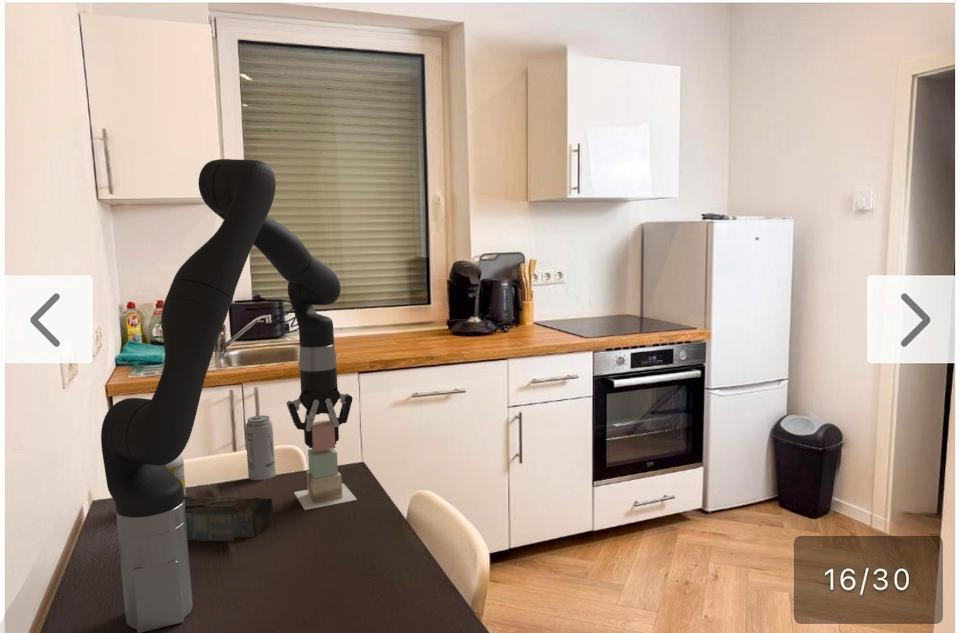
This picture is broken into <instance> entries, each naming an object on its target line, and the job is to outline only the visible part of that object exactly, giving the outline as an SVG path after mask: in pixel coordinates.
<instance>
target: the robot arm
mask: <svg viewBox="0 0 960 633" xmlns="http://www.w3.org/2000/svg"><path fill="white" fill-rule="evenodd" d="M276 187H277V186H276V178H275V173H274V171H273V169H272V167H271V166H270V165H269V164H267V163H266V162H264V161H261V160H255V159H248V158H247V159H234V158H233V159H232V158H221V159H220V158H219V159H213V160H210V161H208V162H206V163H205V164H204V166H203V167H202V168H201V170H200V173H199V177H198V191H199V193H200V196H201V199H202V200H203V202H204V203H205V205H206V206H207V207H208V208H209V209H210V210H211V211H212V212H214V213H215V214H216V215H217V216H219V218H221V219H222V220H223V221H222V223H221V225H220V226H219V227H218V229H217V231H216V232H215V233H214V234H213V235H212V236H211V237H210V238H209V240H207V241H206V242H205V243H204V244H202V245H201V247H199V248H198V249H197V250H196V251H194V253H193V254H192V255H190V256H189V257H188V259H186V261H185V262H184V263H182V264H181V266H180V267H179V269H178V271H177V272H176V274H175V275H174V277H173V280H172V282H171V284H170V287H169V289H168V292H167V295H166V297H165V300H164V302H163V306H162V310H161V314H160V315H161V316H160V317H161V318H160V319H161V320H160V321H161V322H160V323H161V324H160V325H161V332H162V342H163V347H164V363H163V368H162V373H161V375H160V378H159V381H158V383H157V385H156V389H155V391H154V393H153V395H152V397H151V399H150V398H144V397H142V398H141V397H129V398H124V399H121V400H119V401H117V402H116V403H115V404H113V405H112V406H110V408H109V409H108V411H107V412H106V414H105V415H104V418H103V421H102V424H101V425H102V426H101V431H100V441H101V442H100V445H101V446H100V447H101V454H102V459H103V460H102V461H103V467H104V473H105V480H106V485H107V490H108V493H109V495H110V496H111V498H112V499H113V501H114V505H115V514H116V524H117V536H118V538H117V539H118V546H119V547H118V548H119V549H118V550H119V558H120V569H121V580H122V590H123V592H122V593H123V601H124V613H125V621H126V622H125V623H126V625H127V626H129V627H130V628H132V629H135V630H136V633H144V632H150V631H153V630H157V629H160V628H161V629H162V628H166V627H169V626H173V625H177V624H181V623H184V620H185V618H186V617H187V616H188V615H189V614H190V613H191V611H192V610H193V595H192V594H193V592H192V580H191V569H190V557H189V554H190V553H189V545H188V544H189V540H187V528H186V514H185V501H184V489H183V484H182V482H181V481H180V480H179V479H178V478H177V477H176V476H174V475H173V474H172V473H171V472H170V471H169V470H168V469H167V467H166V466H165V465H166V464H169V463H171V462H172V461H174V460H175V459H176V458H178V456H179V455H181V454H182V453H183V451H184V450H185V449H186V446H187V445H188V442H189V440H190V437H191V435H192V432H193V427H194V425H195V420H196V418H197V417H196V416H197V412H198V409H199V404H200V400H201V395H202V391H203V387H204V383H205V380H206V376H207V373H208V369H209V366H210V363H211V360H212V358H213V355H214V351H215V348H216V345H217V343H218V339H219V336H220V334H221V332H222V329H223V326H224V324H225V321H226V318H227V316H228V313H229V311H230V307H231V305H232V302H233V298H234V295H235V293H236V290H237V289H236V288H237V287H238V283H239V281H240V278H241V276H242V273H243V271H244V267H245V265H246V262H247V259H248V257H249V255H250V254H251V249H252V247H253V246H254V247H255V248H256V249H258V250H259V251H260V252H261V253H262V254H263V255H264V256H265V258H267V260H268V261H269V263H270V264H271V265H272V266H273V267H274V269H276V271H277V272H278V273H279V274H280V275H281V277H282V278H283V279H285V280H286V281H287V282H288V283H287V295H288V298H289V301H290V302H289V303H290V304H291V307H292V311H293V313H294V317H295V318H296V322H297V325H298V326H297V327H298V336H299V338H298V339H299V355H298V358H299V361H298V367H299V376H300V377H299V379H300V394H299V396H298V398H297V399H295V400H288V401H287V402H286V407H287V410H288V412H289V414H290V416H291V417H290V418H291V419H292V422H293V424H294V426H295V427H296V429H298V430H302V431H303V437H304V440H303V441H304V444H305V445H306V446H307V447H308V448H309V449H312V448H313V444H312V431H311V429H312V425H313V422H315V419H316V418H315V417H316V416H318V415H321V414H324V415H327V416H328V420H330V421H331V422H332V423H333V424H334V430H335V445H337V442H338V441H339V439H340V434H339V427H340V426H341V425H342V424H346V423H347V422H348V419H349V414H350V410H351V408H352V403H353V398H354V397H353V396H352V395H350V394H349V393H346V394H345V393H340V391H339V388H338V373H337V372H338V371H337V370H338V369H337V368H338V367H337V355H336V354H337V353H336V349H335V348H336V347H335V334H334V323H333V319H332V318H330V317H328V316H326V315H323V314H319V313H317V312H316V310H315V309H314V306H328V305H332V304H334V303H335V302H337V300H338V299H339V298H340V294H341V282H340V279H339V278H338V276H337V274H336V273H335V272H334V271H333V270H332V269H331V268H330V267H328V265H326V264H325V263H323V262H322V261H320V259H318V258H316V257H315V256H313V255H312V254H311V253H310V251H309V250H308V248H307V247H306V246H305V244H304V243H303V241H302V240H300V238H299V237H298V236H297V235H296V234H295V233H294V232H293V231H291V230H290V229H288V227H286V226H284V225H283V224H282V223H280V222H278V221H277V220H275V219H273V218H271V216H269V213H270V210H271V208H272V205H273V204H274V203H273V202H274V198H275V193H276ZM338 401H339V402H340V403H341V407H340V412H339V415H338V417H337V413H336V410H335V407H336V404H337V403H338ZM300 405H302V406H303V408H305V409H306V411H305V414H304V415H305V416H304V422H302V421H301V418H300V415H299V413H298V411H299V410H300Z"/></svg>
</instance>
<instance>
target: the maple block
mask: <svg viewBox="0 0 960 633" xmlns="http://www.w3.org/2000/svg"><path fill="white" fill-rule="evenodd" d="M342 481H343V480H342V474H341V473H340V472H339V471H338V475H335V476H329V477H324V478H318V479H314V478H313V477H312V475H311V474H310V472H309V470H308V471H306V484H307V485H306V486H307V490H308V495H309V496H310V498H311V499H312V501H313V502H314V503H318V502H323V501H328V500H334V499H339V498H342Z"/></svg>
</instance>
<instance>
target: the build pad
mask: <svg viewBox="0 0 960 633" xmlns="http://www.w3.org/2000/svg"><path fill="white" fill-rule="evenodd" d="M293 493H294V495H295V497H296V498H297V500H298V501H299V503H300V504H301V506H302V508H303V509H304V511H307V510H311V509H316V508H317V509H318V508H321V507H327V506H331V505H338V504H342V503H348V502H353V501H357V500H358V499H357V497H356V496H355V495H354V494H353V493H352V492H351V490H350V489H349V488H348V487H347V486H346V484H345V483H342V498H339V499H334V500H328V501H323V502H318V503H314V502H313V501H312V499H311V498H310V496H309V495H308V489H304V490H299V491H294V492H293Z"/></svg>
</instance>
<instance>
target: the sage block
mask: <svg viewBox="0 0 960 633" xmlns="http://www.w3.org/2000/svg"><path fill="white" fill-rule="evenodd" d="M307 457H308V459H307V460H308V471H309V472H310V474H311V475H312V477H313V478H314V479H318V478H324V477H329V476H335V475H338V472H339V471H338V469H339V467H338V465H339V464H338V452H337V450H336V449H335V448H332V449H326V450H320V451H313V450H312V448H309V449H307Z"/></svg>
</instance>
